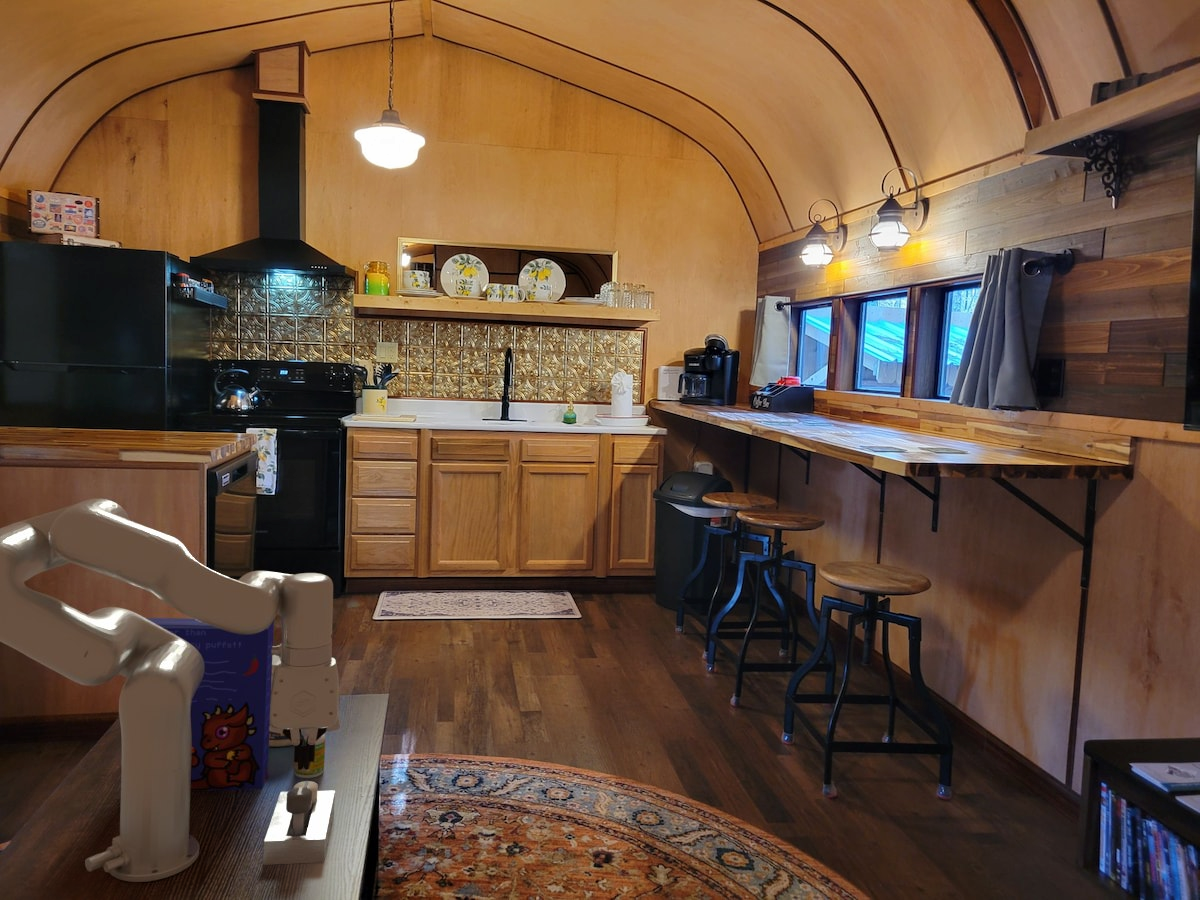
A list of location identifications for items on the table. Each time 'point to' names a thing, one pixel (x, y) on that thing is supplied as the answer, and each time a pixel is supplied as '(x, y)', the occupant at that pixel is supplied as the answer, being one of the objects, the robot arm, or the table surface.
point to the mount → (299, 848)
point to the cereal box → (228, 705)
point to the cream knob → (313, 788)
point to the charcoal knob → (298, 806)
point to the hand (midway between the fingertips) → (304, 765)
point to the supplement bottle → (318, 764)
